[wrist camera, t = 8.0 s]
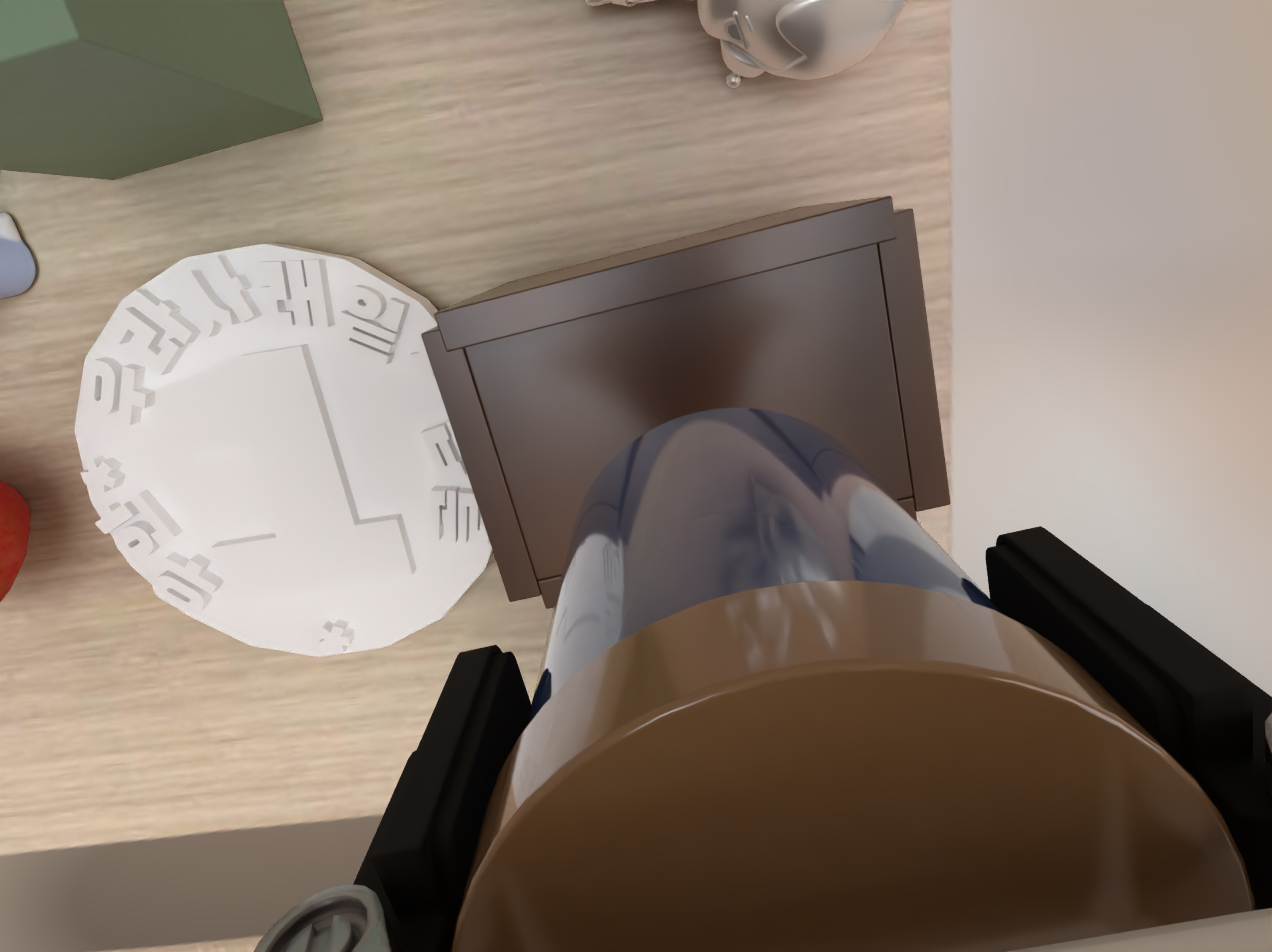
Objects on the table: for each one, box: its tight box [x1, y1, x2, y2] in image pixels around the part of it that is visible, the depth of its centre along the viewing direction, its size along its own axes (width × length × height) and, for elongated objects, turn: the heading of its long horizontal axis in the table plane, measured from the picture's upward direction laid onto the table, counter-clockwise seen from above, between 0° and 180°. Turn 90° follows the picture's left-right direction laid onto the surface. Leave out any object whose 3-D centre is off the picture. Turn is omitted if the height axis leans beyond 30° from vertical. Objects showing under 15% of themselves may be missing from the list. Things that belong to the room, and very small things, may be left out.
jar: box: [451, 408, 1256, 952], centre depth 11 cm, size 7×7×9 cm
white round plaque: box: [74, 243, 493, 657], centre depth 36 cm, size 20×20×3 cm
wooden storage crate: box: [421, 196, 950, 609], centre depth 31 cm, size 16×21×13 cm
